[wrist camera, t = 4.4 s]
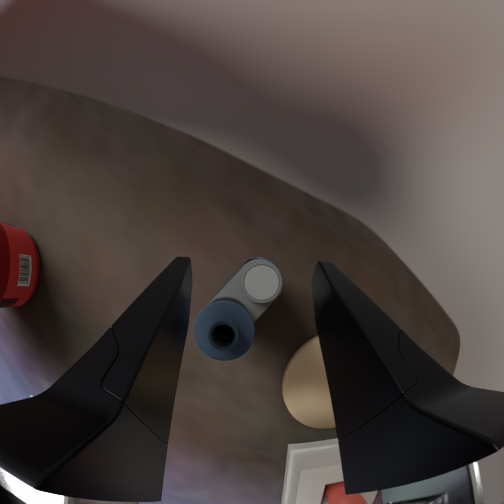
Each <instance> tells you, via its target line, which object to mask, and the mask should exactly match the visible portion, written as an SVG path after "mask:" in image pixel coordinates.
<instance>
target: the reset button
mask: <svg viewBox="0 0 504 504" xmlns="http://www.w3.org/2000/svg"><path fill="white" fill-rule="evenodd" d="M323 493H324V495H325V497H326V499H327V501H328V503H329V504H367V502H366V501H365V499H364V498H363V497H362V495H361V494H360V493H358V494H349V495H346V494H345V488H344V481H341V482H336V483H331V484H326V485H325V488H324V492H323Z"/></svg>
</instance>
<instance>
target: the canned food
mask: <svg viewBox="0 0 504 504" xmlns="http://www.w3.org/2000/svg"><path fill="white" fill-rule="evenodd" d="M39 271H40V264H39V255H38V251H37V247H36V245H35V242H34V241H33V239H32V237H31V236H30V235H29V234H28V233H27V232H25V231H24V230H23V229H21V228H18V227H15V226H12V225H9V224H6V223H3V222H0V308H2V307H17V306H21V305H23V304H24V303H26V302H27V301H28V300H30V298H31V297H32V296H33V294H34V292H35V290H36V287H37V284H38V279H39Z"/></svg>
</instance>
